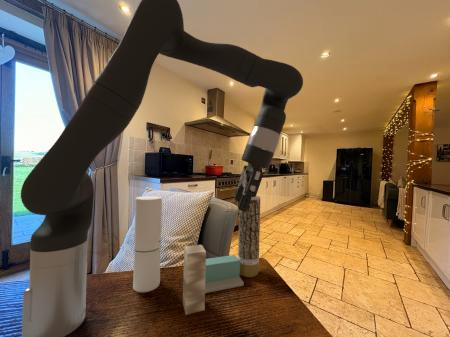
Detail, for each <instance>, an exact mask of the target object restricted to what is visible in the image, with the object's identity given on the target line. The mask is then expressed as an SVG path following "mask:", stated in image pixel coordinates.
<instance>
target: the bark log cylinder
mask: <svg viewBox="0 0 450 337" xmlns="http://www.w3.org/2000/svg"><path fill="white" fill-rule="evenodd" d="M239 203H240V202H238V204H239ZM238 213H239V214H238V241H237V243H238V244H237V245H238V249H237V258H238V259H239V260H240V274H239V276H241V277H244V278H254V277H256V276H258V274H259V271H260V270H259V269H260V264H259V263H260V236H261V235H260V234H261V232H260V231H261V230H260V229H261V197H260V196H258V195H256V197H253V198H251V201H250V204H249V206H248V209H247V211H246V212H244V211H241V210H239V209H238Z"/></svg>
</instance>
